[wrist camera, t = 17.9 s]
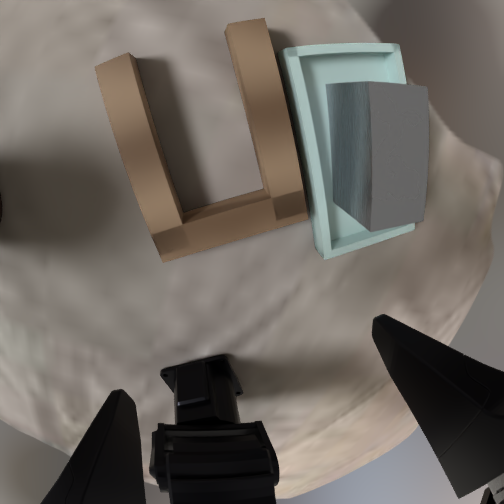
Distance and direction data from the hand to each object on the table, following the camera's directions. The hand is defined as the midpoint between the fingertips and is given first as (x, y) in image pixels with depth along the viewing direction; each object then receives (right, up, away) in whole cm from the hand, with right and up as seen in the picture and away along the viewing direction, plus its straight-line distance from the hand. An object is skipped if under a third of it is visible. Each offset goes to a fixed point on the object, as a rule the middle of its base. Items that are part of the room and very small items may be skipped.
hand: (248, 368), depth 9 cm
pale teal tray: (+7, +11, +9) cm, 16 cm away
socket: (-3, +11, +7) cm, 13 cm away
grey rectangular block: (+7, +11, +9) cm, 16 cm away
